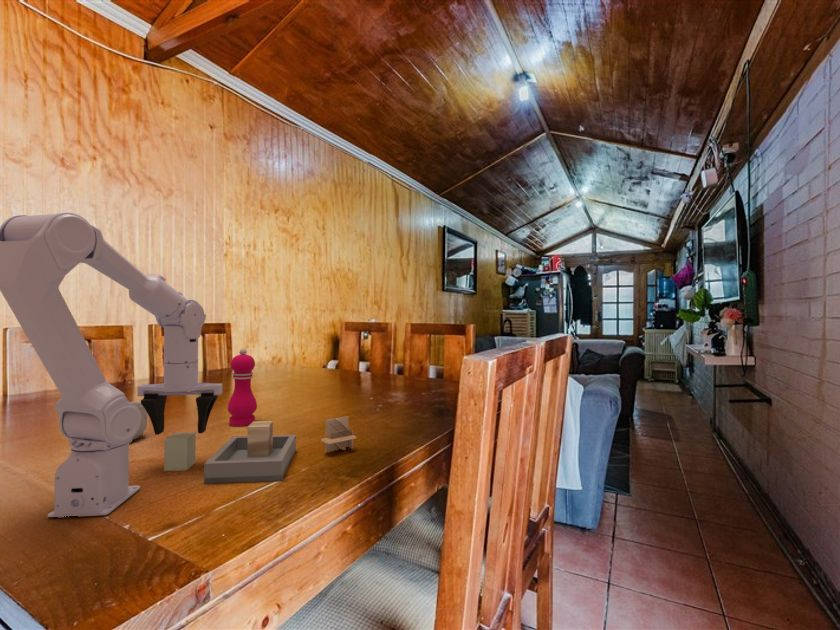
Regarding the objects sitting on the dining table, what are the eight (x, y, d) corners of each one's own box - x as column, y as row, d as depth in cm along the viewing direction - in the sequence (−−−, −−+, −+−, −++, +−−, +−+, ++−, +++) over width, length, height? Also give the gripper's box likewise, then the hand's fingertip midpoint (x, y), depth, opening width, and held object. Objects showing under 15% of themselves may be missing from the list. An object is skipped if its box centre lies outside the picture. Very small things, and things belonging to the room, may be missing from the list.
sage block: (186, 470, 78) (187, 438, 78) (164, 471, 77) (164, 439, 77) (195, 462, 82) (195, 432, 82) (173, 463, 81) (173, 432, 81)
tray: (281, 480, 74) (281, 461, 74) (203, 483, 72) (204, 463, 72) (295, 450, 90) (295, 434, 90) (232, 452, 88) (232, 436, 88)
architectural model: (356, 453, 90) (357, 419, 90) (328, 460, 85) (328, 424, 85) (348, 449, 93) (348, 416, 93) (320, 456, 88) (320, 421, 88)
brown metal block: (268, 456, 83) (268, 426, 83) (247, 456, 83) (247, 426, 83) (272, 449, 87) (273, 421, 87) (252, 450, 87) (253, 421, 86)
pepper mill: (227, 421, 113) (228, 347, 112) (255, 418, 116) (256, 347, 116) (227, 428, 106) (228, 350, 106) (257, 425, 109) (258, 349, 109)
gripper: (227, 359, 85) (227, 425, 85) (150, 359, 83) (150, 427, 83) (215, 363, 78) (215, 436, 78) (131, 364, 76) (131, 438, 76)
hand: (180, 432), depth 80 cm, fingers open, 7 cm apart
